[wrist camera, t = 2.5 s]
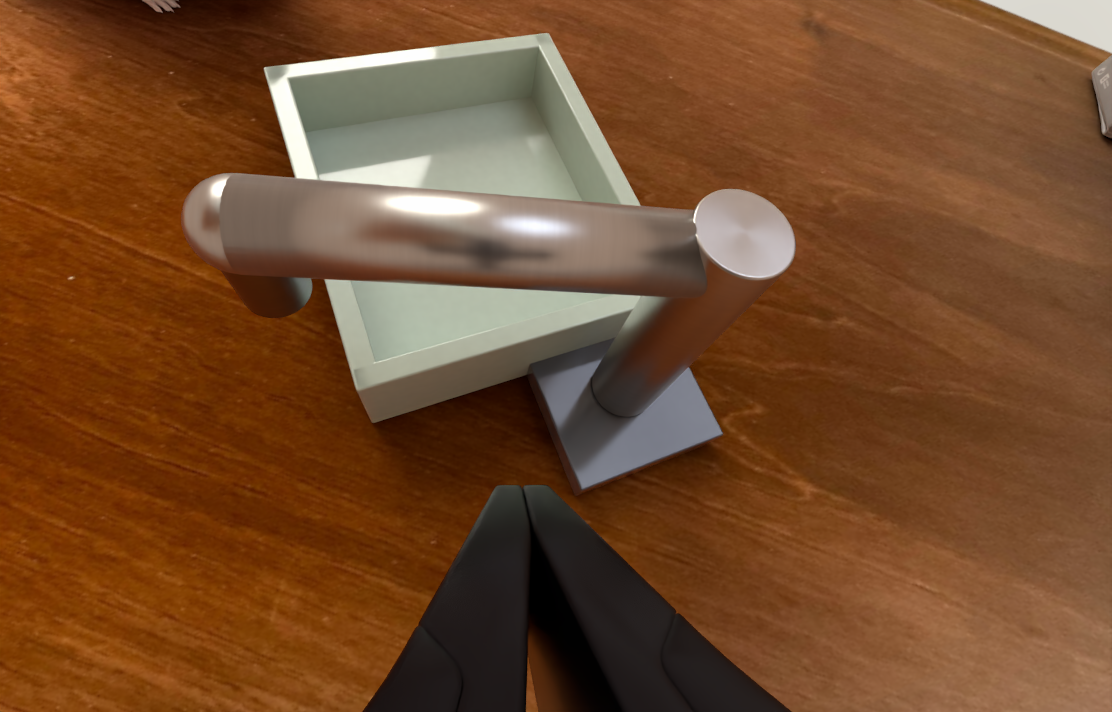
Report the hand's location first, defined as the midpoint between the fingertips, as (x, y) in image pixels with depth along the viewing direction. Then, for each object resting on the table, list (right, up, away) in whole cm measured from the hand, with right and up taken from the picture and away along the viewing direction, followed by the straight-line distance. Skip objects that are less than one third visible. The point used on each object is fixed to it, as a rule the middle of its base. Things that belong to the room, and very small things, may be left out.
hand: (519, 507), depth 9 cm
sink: (-2, +6, +14) cm, 15 cm away
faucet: (-2, +1, +11) cm, 11 cm away
